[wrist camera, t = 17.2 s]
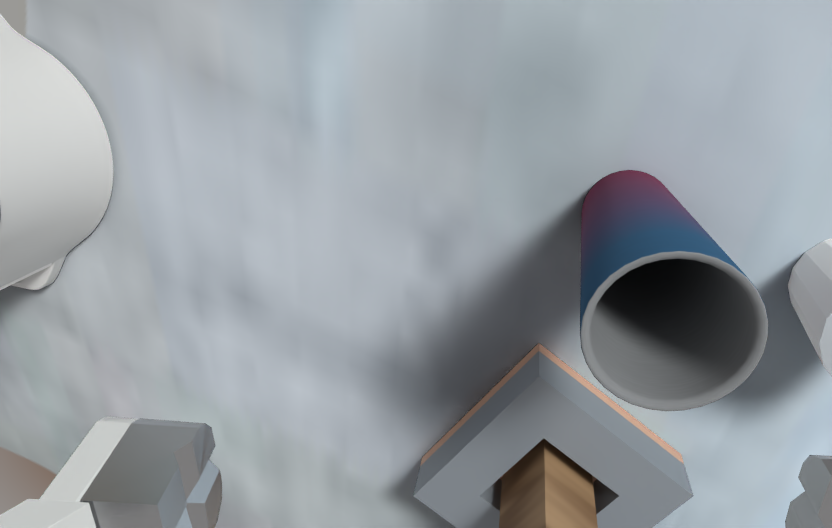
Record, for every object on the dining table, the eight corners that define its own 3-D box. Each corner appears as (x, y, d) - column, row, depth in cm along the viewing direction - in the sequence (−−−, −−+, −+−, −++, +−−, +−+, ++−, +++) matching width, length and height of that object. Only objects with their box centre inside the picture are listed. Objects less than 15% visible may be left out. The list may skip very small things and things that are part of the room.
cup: (638, 288, 42) (687, 440, 29) (542, 228, 42) (545, 353, 28) (715, 196, 40) (810, 314, 26) (613, 130, 39) (654, 216, 26)
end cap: (554, 555, 51) (556, 600, 47) (422, 457, 49) (413, 496, 46) (680, 454, 46) (693, 495, 43) (538, 342, 45) (539, 376, 41)
